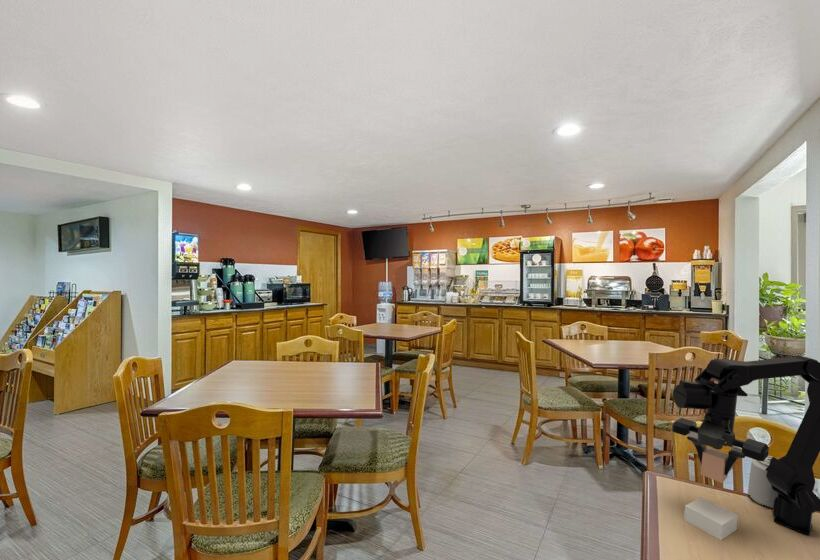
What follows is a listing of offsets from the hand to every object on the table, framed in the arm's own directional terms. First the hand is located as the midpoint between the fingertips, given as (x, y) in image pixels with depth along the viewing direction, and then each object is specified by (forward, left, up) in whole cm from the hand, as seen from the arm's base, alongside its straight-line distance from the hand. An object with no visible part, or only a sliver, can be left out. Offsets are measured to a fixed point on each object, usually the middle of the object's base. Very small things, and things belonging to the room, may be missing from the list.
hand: (714, 470), depth 102 cm
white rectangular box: (-1, +4, -13) cm, 13 cm away
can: (-8, -21, -12) cm, 25 cm away
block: (0, 0, -2) cm, 2 cm away
